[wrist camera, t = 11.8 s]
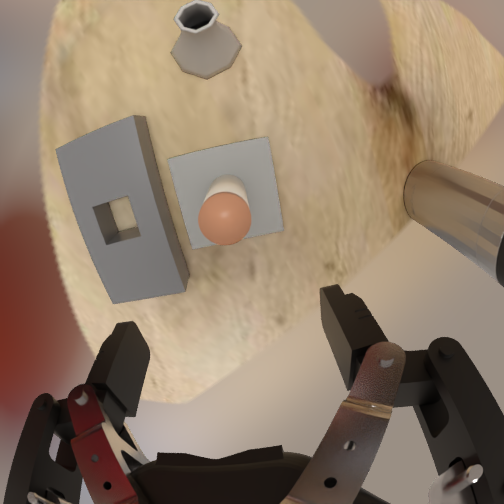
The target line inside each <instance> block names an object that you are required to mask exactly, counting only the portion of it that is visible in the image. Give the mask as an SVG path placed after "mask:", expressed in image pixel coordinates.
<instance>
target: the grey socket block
mask: <svg viewBox="0 0 504 504" xmlns="http://www.w3.org/2000/svg"><path fill="white" fill-rule="evenodd" d="M56 154H57V158H58V162H59V165H60V169H61V173H62V176H63V180H64V183H65V187H66V190H67V193H68V196H69V200H70V203H71V206H72V209H73V212H74V214H75V217H76V220H77V223H78V226H79V228H80V231H81V233H82V236H83V239H84V241H85V244H86V246H87V249H88V251H89V253H90V256H91V258H92V260H93V263H94V265H95V267H96V270H97V272H98V274H99V276H100V278H101V280H102V283H103V285H104V287H105V289H106V291H107V293H108V295H109V297H110V299H111V301H112V303H113V304H118V303H124V302H130V301H136V300H142V299H148V298H154V297H159V296H165V295H171V294H176V293H182V292H186V287H187V283H188V279H189V271H188V268H187V265H186V262H185V259H184V256H183V253H182V250H181V247H180V244H179V241H178V237H177V234H176V231H175V228H174V224H173V221H172V218H171V214H170V211H169V208H168V204H167V201H166V197H165V194H164V190H163V186H162V183H161V179H160V175H159V171H158V168H157V164H156V160H155V156H154V152H153V148H152V144H151V140H150V135H149V131H148V127H147V122H146V118H145V116H136V115H133V116H130V117H127V118H125V119H122V120H119V121H117V122H114V123H112V124H109V125H107V126H104V127H102V128H100V129H97V130H95V131H93V132H90V133H88V134H86V135H84V136H82V137H79V138H77V139H75V140H73V141H71V142H69V143H67V144H65V145H63V146H61V147H59V148H57V149H56ZM125 196H128V197H129V201H130V204H131V207H132V210H133V213H134V216H135V219H136V222H137V225H138V227H134V228H131V229H127V230H123V231H120V232H118V229H117V227H116V224H115V221H114V218H113V215H112V212H111V209H110V206H109V203H108V202H109V201H112V200H115V199H118V198H122V197H125Z"/></svg>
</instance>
